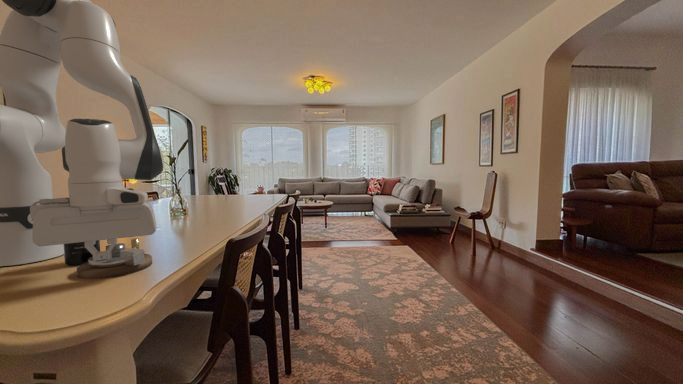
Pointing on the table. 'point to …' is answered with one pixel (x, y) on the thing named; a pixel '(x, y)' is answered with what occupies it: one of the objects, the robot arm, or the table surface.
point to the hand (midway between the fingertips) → (102, 260)
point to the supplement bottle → (78, 253)
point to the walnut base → (113, 267)
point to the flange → (120, 257)
